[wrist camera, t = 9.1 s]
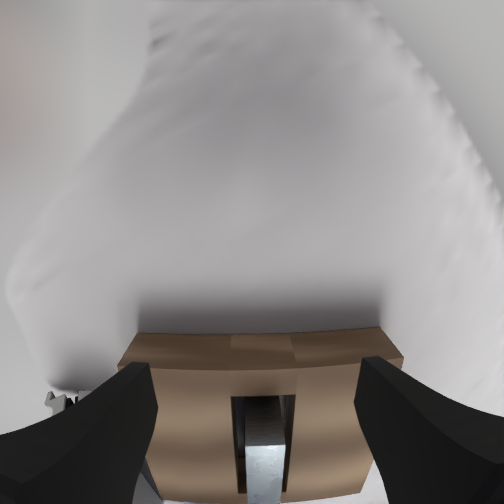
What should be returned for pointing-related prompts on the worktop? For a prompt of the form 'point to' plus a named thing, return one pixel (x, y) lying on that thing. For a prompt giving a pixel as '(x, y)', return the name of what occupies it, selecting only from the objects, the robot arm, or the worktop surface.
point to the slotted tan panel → (257, 384)
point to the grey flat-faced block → (264, 449)
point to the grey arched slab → (144, 495)
